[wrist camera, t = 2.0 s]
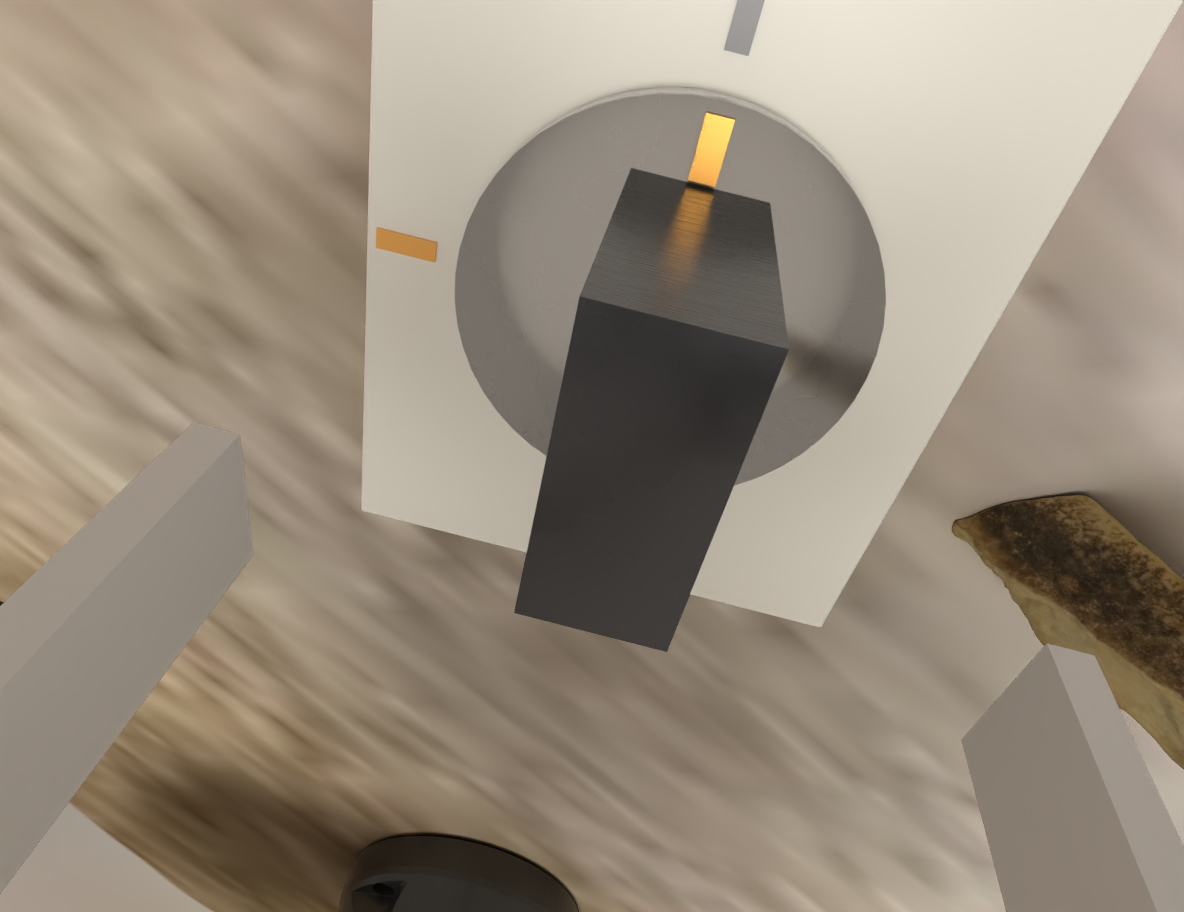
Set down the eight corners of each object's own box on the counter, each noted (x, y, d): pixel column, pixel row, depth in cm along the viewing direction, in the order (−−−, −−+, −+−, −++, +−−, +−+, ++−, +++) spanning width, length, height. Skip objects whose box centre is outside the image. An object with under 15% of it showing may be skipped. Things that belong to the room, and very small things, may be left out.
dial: (790, 512, 26) (812, 746, 19) (447, 425, 26) (337, 624, 19) (961, 152, 19) (1105, 302, 11) (489, 33, 19) (335, 108, 12)
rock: (1357, 700, 26) (1419, 510, 20) (1287, 932, 23) (1338, 785, 17) (1019, 594, 34) (993, 435, 28) (932, 756, 31) (882, 614, 25)
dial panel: (816, 598, 30) (820, 629, 29) (376, 486, 30) (360, 512, 29) (1182, -60, 17) (1219, -58, 16) (403, -256, 17) (377, -269, 16)
